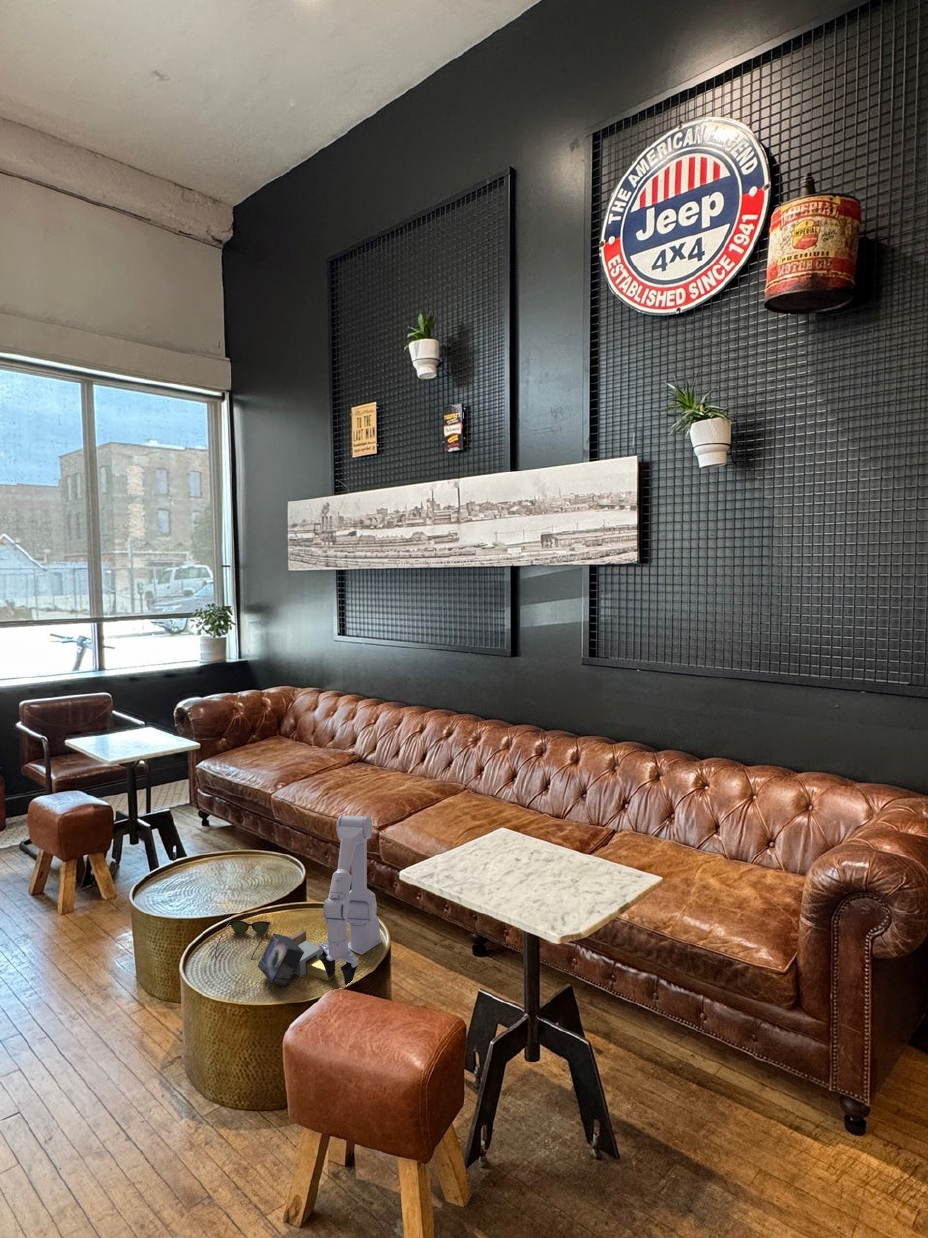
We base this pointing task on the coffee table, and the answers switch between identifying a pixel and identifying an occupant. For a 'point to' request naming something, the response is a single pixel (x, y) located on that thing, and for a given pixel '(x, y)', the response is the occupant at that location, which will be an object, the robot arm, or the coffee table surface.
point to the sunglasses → (243, 927)
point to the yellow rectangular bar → (316, 968)
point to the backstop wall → (299, 937)
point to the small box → (280, 959)
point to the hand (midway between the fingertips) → (340, 980)
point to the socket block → (307, 956)
